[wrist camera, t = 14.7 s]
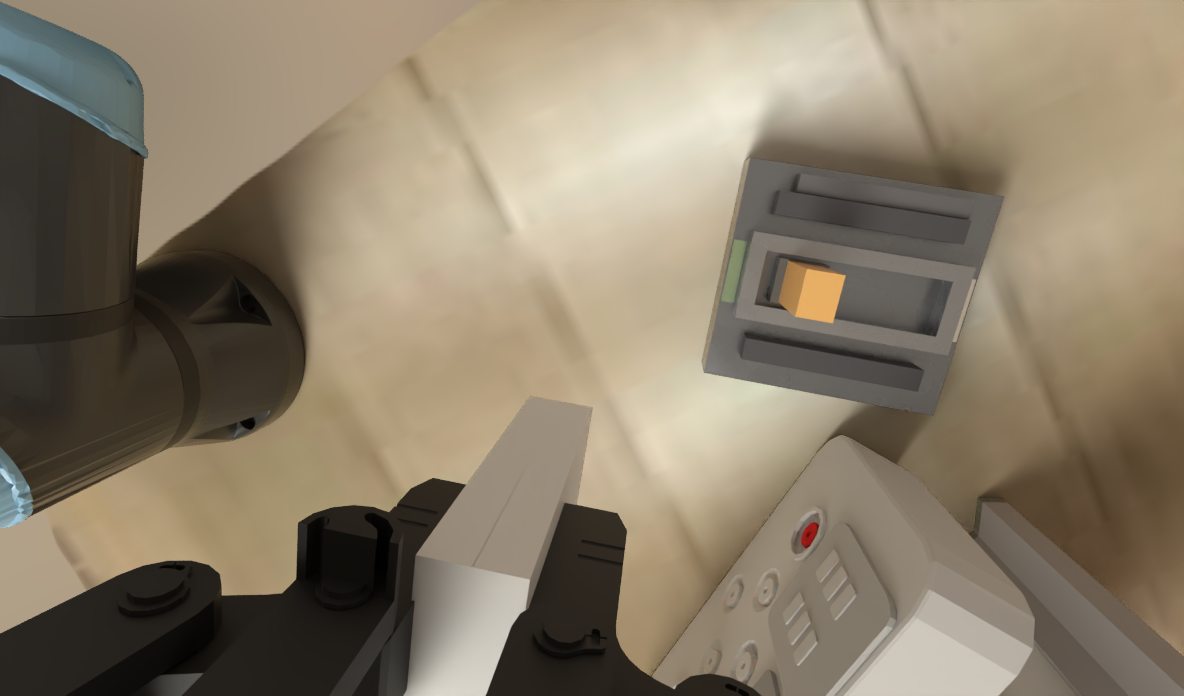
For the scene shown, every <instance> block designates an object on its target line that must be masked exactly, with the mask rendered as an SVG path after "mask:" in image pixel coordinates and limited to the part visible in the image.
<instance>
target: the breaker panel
mask: <svg viewBox="0 0 1184 696" xmlns="http://www.w3.org/2000/svg"><path fill="white" fill-rule="evenodd" d="M800 173H802V174H809V175H815V176H822V177H828V178H835V179H841V180H847V181H854V182H860V183H867V184H873V185H880V186H886V187H892V188H899V189H905V190H912V191H918V192H925V193H931V194H937V195H944V196H950V197H957V198H963V199H970V200H975V203H974V206H973V210H972V213H971V216H970V219H969V220H972V221H971V224H970V227H969V231H968V234H967V237H966V240H965V243H964V245H963V244H954V243H948V242H942V241H936V240H929V239H923V238H917V237H911V236H905V235H899V234H892V233H886V232H880V231H874V230H868V229H862V228H856V227H849V226H843V225H837V224H831V223H825V222H819V221H812V220H806V219H800V218H794V217H788V216H782V215H775V214H771V213H772V208H773V204H774V200H775V195H776V191H779V190H782V191H789V192H793V191H794V186H795V182H796V178H797V174H800ZM1003 199H1004V197H1003V196H996V195H990V194H983V193H977V192H970V191H964V190H957V189H951V188H944V187H938V186H931V185H925V184H919V183H912V182H906V181H899V180H893V179H886V178H880V177H873V176H867V175H860V174H854V173H847V172H841V171H834V170H828V169H821V168H815V167H808V166H802V165H795V164H789V163H782V162H776V161H770V160H763V159H757V158H749V159H747V160H746V161H744V166H743V171H742V175H741V180H740V185H739V189H738V194H737V199H736V203H735V208H734V213H733V217H732V222H731V227H730V231H729V236H728V241H727V245H726V250H725V255H724V259H723V264H722V269H721V274H720V278H719V283H718V288H717V292H716V297H715V302H714V306H713V311H712V316H711V320H710V325H709V330H708V334H707V339H706V344H705V348H704V353H703V358H702V366H703V371H704V373H709V374H714V375H719V376H725V377H730V378H735V379H741V380H746V381H751V382H756V383H762V384H767V385H772V386H778V387H783V388H788V389H794V390H799V391H804V392H810V393H815V394H820V395H825V396H831V397H836V398H841V399H847V400H852V401H857V402H863V403H868V404H873V405H878V406H884V407H889V408H894V409H900V410H905V411H910V412H916V413H921V414H926V415H931V416H933V415H934V412H935V408H936V405H937V402H938V399H939V396H940V393H941V390H942V387H943V384H944V381H945V378H946V374H947V371H948V368H949V365H950V362H951V359H952V356H953V353H954V350H955V347H956V344H957V341H958V337H959V334H960V331H961V328H962V325H963V322H964V319H965V316H966V313H967V310H968V307H969V303H970V300H971V297H972V294H973V291H974V288H975V285H976V282H977V279H978V276H979V273H980V270H981V266H982V263H983V260H984V257H985V254H986V251H987V248H988V245H989V242H990V239H991V236H992V232H993V229H994V226H995V223H996V220H997V217H998V214H999V211H1000V208H1001V205H1002V202H1003ZM965 220H967V219H965ZM777 256H779V257H785V258H791V259H797V260H803V261H808V262H814V263H820V264H826V265H828V266H830V268H829V269H830V270H833V271H835V272H838V273H840V274H843V275H846V276H845V280H844V283H843V287H842V291H841V295H840V298H839V302H838V306H837V310H836V313H835V317H834V321H833V323H828V322H822V321H817V320H811V319H805V318H800V317H795V316H794V315H793V314H791V313H790V312H789V311H788V310H787V309H786V308H785V307H783V306H782V305H781V304H777V303H772V302H769V301H768V300H767V296H768V292H769V288H770V284H771V279H772V275H773V271H774V267H775V262H776V258H777ZM744 334H748V335H753V336H759V337H764V338H770V339H775V340H781V341H786V342H792V343H797V344H803V345H808V346H814V347H819V348H825V349H830V350H836V351H842V352H847V353H853V354H858V355H864V356H869V357H875V358H880V359H886V360H891V361H897V362H902V363H908V364H913V365H916V366H918V367H920V368H921V369H923V370H924V374H923V377H922V380H921V384H920V387H919V390H918V392H916V391H910V390H905V389H899V388H894V387H889V386H883V385H878V384H873V383H867V382H862V381H856V380H851V379H846V378H840V377H835V376H829V375H824V374H819V373H813V372H808V371H802V370H797V369H792V368H786V367H781V366H775V365H770V364H765V363H759V362H754V361H749V360H743V359H741V357H740V355H739V352H740V348H741V343H742V339H743V335H744Z"/></svg>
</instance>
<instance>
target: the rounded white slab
mask: <svg viewBox="0 0 1184 696" xmlns="http://www.w3.org/2000/svg"><path fill="white" fill-rule="evenodd" d="M1034 627H1035V618H1034V616H1033V614H1032V612H1031V610H1030V608H1029V606H1028V603H1027V601H1026V599H1025V597H1024V595H1023V593H1022V592H1021V591H1020V590H1019V589H1018V588H1017V587H1016V586H1015V584H1014V583H1013V582H1012V581H1011V580H1010V579H1009V578H1008V577H1007V576H1006V575H1005V574H1004V572H1003V571H1002V570H1001V569H1000V568H999V567H998V566H997V565H996V564H995V563H994V561H993V560H992V559H991V558H990V557H989V556H988V555H987V554H986V553H985V552H984V551H983V549H982V548H981V547H980V546H979V545H978V544H977V543H976V542H975V541H974V540H973V539H972V537H971V536H970V535H969V534H968V533H967V532H966V531H965V530H964V529H963V528H962V526H961V525H960V524H959V523H958V522H957V521H956V520H955V519H954V518H953V517H952V516H951V514H950V513H949V512H948V511H947V510H946V509H945V508H944V507H943V506H942V505H941V504H940V502H939V501H938V500H937V499H936V498H935V497H934V496H933V495H932V494H931V493H930V491H929V490H928V489H927V488H926V487H925V486H924V485H923V484H922V483H921V482H920V481H919V479H918V478H917V477H916V476H915V475H913V474H912V473H910V472H908V471H907V470H905V469H903V468H901V467H900V466H898V465H896V464H894V463H893V462H891V461H889V460H888V459H886V458H884V457H882V456H881V455H879V454H877V453H875V452H874V451H872V450H870V449H869V448H867V447H865V446H863V445H862V444H860V443H858V442H856V441H855V440H853V439H851V438H849V437H846V436H843V435H839V436H837V437H835V438H833V439H831V440H829V441H828V442H827V443H826V444H825V445H824V446H823V447H822V448H821V449H820V450H819V451H818V452H817V453H816V455H815V456H814V458H813V459H812V460H811V462H810V463H809V464H808V466H807V467H806V468H805V470H804V471H803V472H802V474H801V475H800V476H799V478H798V479H797V480H796V482H795V483H794V485H793V486H792V487H791V489H790V490H789V491H788V493H787V494H786V495H785V497H784V498H783V499H782V501H781V502H780V503H779V505H778V506H777V507H776V509H775V510H774V512H773V513H772V514H771V516H770V517H769V518H768V520H767V521H766V522H765V524H764V525H763V526H762V528H761V529H760V530H759V532H758V533H757V534H756V536H755V537H754V538H753V540H752V541H751V543H750V544H749V545H748V547H747V548H746V549H745V551H744V552H743V553H742V555H741V556H740V557H739V559H738V560H737V561H736V563H735V564H734V565H733V567H732V568H731V570H730V571H729V572H728V574H727V575H726V576H725V578H724V579H723V580H722V582H721V583H720V584H719V586H718V587H717V588H716V590H715V591H714V592H713V594H712V595H711V597H710V598H709V599H708V601H707V602H706V603H705V605H704V606H703V607H702V609H701V610H700V611H699V613H698V614H697V615H696V617H695V618H694V619H693V621H692V622H691V623H690V625H689V626H688V628H687V629H686V630H685V632H684V633H683V634H682V636H681V637H680V638H679V640H678V641H677V642H676V644H675V645H674V646H673V648H672V649H671V650H670V652H669V653H668V655H667V656H666V657H665V659H664V660H663V661H662V663H661V664H660V665H659V667H658V668H657V669H656V671H655V672H654V674H653V675H652V678H654V679H656V680H657V681H659V682H661V683H663V684H665V685H667V686H669V687H671V688H673V689H675V687H676V685H678V684H679V683H681V682H682V681H684V680H686V679H687V678H689V677H690V676H695V675H702V674H709V673H710V674H716V675H721V676H726V677H731V678H733V679H735V680H737V681H739V682H741V683H744V684H746V685H748V686H750V687H752V688H753V689H754V690H756V691H757V692H758V693H759V694H760V695H762V696H999V695H1000V694H1001V693H1002V692H1003V691H1004V689H1005V688H1006V687H1007V686H1008V685H1009V684H1010V683H1011V682H1012V681H1013V680H1014V679H1015V678H1016V677H1017V676H1018V675H1019V673H1020V671H1021V669H1022V668H1023V666H1024V664H1025V663H1026V661H1027V659H1028V657H1029V656H1030V654H1031V652H1032V651H1033V643H1034Z"/></svg>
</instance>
